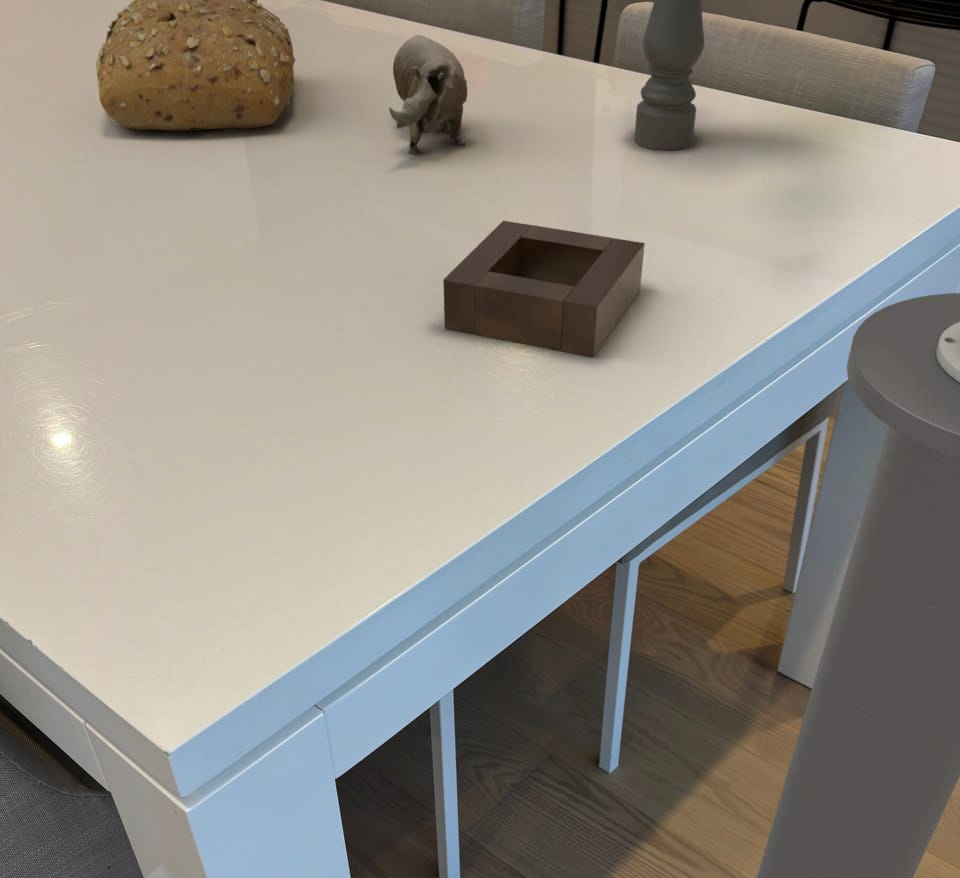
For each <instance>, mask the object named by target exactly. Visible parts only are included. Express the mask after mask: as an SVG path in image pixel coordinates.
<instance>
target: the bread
mask: <svg viewBox="0 0 960 878" xmlns="http://www.w3.org/2000/svg"><path fill="white" fill-rule="evenodd" d="M116 15H117V17H116V18H115V19H113V20H112V21H111V22H110V23H109V25H107V28H108V29H109V30H108V31H107V33H106V38H105V42H104V43H102V44H101V47H100V49H99V52H98V54H97V55H98V56H97V58H96V62H95V69H96V77H97V87H98V95H99V101H100V104H101V106H102V108H103V110H104V111H105V113H106V114H107V116H108V117H110V118H111V120H113V122H115V123H117V124H118V125H120V126H121V127H124V128H127V129H131V130H137V131H138V130H139V131H141V130H142V131H144V130H145V131H147V130H161V131H162V130H163V131H187V132H189V131H190V132H191V131H195V132H197V131H201V130H218V129H236V128H237V129H238V128H239V129H255V128H260V127H267V126H271V125H274V123H276V121H277V119H278V118H279V117H280V116H281V114H282V112H283V111H284V109H285V108H286V107H287V106H288V105H289V104H291V103H292V101H291V100H290V99H291V98H292V93H293V88H294V83H295V81H294V79H295V78H294V77H295V76H294V75H295V73H294V65H295V62H296V58H295V56H294V47H293V42H292V38H291V35H290V32H289V29H288V28H286V25H285V24H284V23H283V22H282V21H281V19H280V17H278V16H277V15H276V14H275V13H273V12H271V11H269V10H268V9H267V8H266V7H264V6H263V5H262V4H261V3H258V0H133V1H130V3H129V4H128V5H126V6H125V7H124V8H123V9H122V10H121V11H119V12H116Z"/></svg>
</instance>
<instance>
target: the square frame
mask: <svg viewBox="0 0 960 878" xmlns="http://www.w3.org/2000/svg"><path fill="white" fill-rule="evenodd" d="M644 254H645V242H639V241H635V240H628V239H623V238H622V239H621V238H616V237H615V238H614V237H610V236H603V235H596V234H590V233H584V232H578V231H572V230H567V229H566V230H565V229H560V228H553V227H547V226H540V225H534V224H527V223H520V222H514V221H509V220H502V221H501V222H500V223H499V224H498V225H497V226H496V227H495V228H494V229H493V230H492V231H491V232H490V233H489V234H487V236H486V237H485V238H484V239H483V240H482V241H481V242H479V244H478V245H477V246H476V247H475V248H474V249H472V251H470V252H469V254H467V255H466V257H465V258H463V259H462V260H461V262H460V263H458V264H457V265H456V266H455V267H454V268H453V269H452V270H451V271H450V272H449V273H448V275H446V276H445V277H444V278H443V279H442V280H443V281H442V283H443V312H444V313H443V316H444V329H446V330H453V331H455V332H457V331H458V332H462V333H467V334H472V335H477V336H481V337H488V338H493V339H498V340H502V341H507V342H508V341H509V342H514V343H519V344H523V345H529V346H535V347H540V348H544V349H549V350H555V351H560V352H566V353H570V354H576V355H580V356H586V357H593V358H594V357H595V356H596V354H597V352H598V351H599V350H600V348H601V347H602V345H603V344H604V342H605V341H606V340H607V338H608V337H609V335H610V334H611V333H612V331H613V330H614V328H615V327H616V326H617V324H618V323H619V321H620V320H621V318H622V317H623V316H624V314H625V313H626V312H627V310H628V308H629V306H630V305H631V304H632V302H633V301H634V300H635V298H636V297H637V295H638V294H639V292H640V291H641V284H642V272H643V265H644Z"/></svg>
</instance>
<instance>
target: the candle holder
mask: <svg viewBox="0 0 960 878" xmlns="http://www.w3.org/2000/svg"><path fill="white" fill-rule="evenodd" d="M650 11H651V12H650V14H649V18H648V21H647V25H646V28H645V32H644V34H643V39H642V48H643V54H644V56H645V60H646V63H647V64H648V65H649V68H648V72H649V74H650V77H649V78H648V79H647V81H646V82H645V85H644V86H643V87H641V89H640V96H641V99H642V101H640V102H639V103H638V104H637V105H636V114H635V126H634V135H633V139H634V143H635V144H636V145H638V146H639V147H643V148H646V149H649V150H655V151H677V150H683V149H685V148H688V147H690V146H691V145H692V144H693V140H694V139H693V138H694V132H695V124H696V123H695V122H696V115H697V107H696V104H694V103H693V101H694V100H695V98H696V95H697V94H696V90H695V88H694V86H693V84H692V81H691V80H690V78H689V77H690V75H692V73H693V69H692V68H693V66H695V65H696V63H697V62H698V61H699V59H700V57H701V56H702V53H703V51H704V47H705V34H704V33H705V32H704V22H703V9H702V0H654V1H653V5H652V8H651V10H650Z"/></svg>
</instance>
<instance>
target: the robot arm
mask: <svg viewBox="0 0 960 878" xmlns="http://www.w3.org/2000/svg"><path fill="white" fill-rule="evenodd" d="M936 355H937V359H938V361H939V363H940V365H941V367H942V368H943V369H944V370H945V371H946V372H947V374H948V375H950V376H951V377H952V378H954V379H955V380H956V381H957V382H959V383H960V322H958V323H956V324H954V325H952V326H950V327H949V328H947V329H946V330H945V331H944V332H943V333H942V335H941V337H940V339H939V342H938V346H937V349H936Z"/></svg>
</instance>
